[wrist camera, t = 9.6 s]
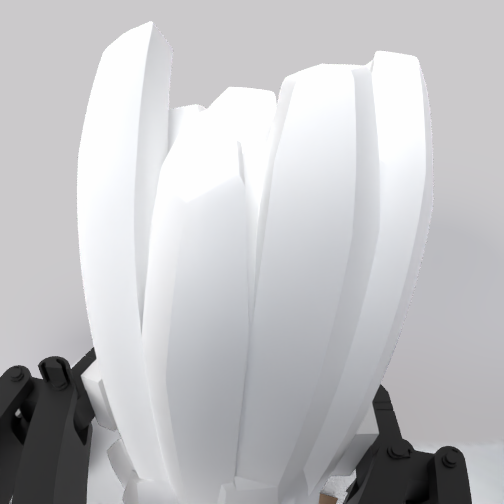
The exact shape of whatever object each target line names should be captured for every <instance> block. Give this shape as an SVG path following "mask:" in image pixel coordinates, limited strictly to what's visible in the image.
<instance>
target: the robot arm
mask: <svg viewBox="0 0 504 504" xmlns="http://www.w3.org/2000/svg"><path fill="white" fill-rule="evenodd" d="M38 367H39V370H40V373H41V375H42V377H43V379H38V378H34V377H32V376H31V373H30V371H29V370H28V368H26V367H24V366H20V365H18V366H13V367H11V368H9V369H8V370H7V371H6V372H5V373H4V374H3V375H2V376H1V377H0V504H9V502H10V500H11V498H12V495H13V498H12V504H86V500H87V479H88V466H89V455H90V445H91V437H92V424H91V421H92V419H93V418H94V417H96V419H97V422H98V424H99V425H100V426H103V427H105V428H107V429H110V430H112V431H114V432H115V430H116V429H117V425H116V423H115V420H114V417H113V414H112V411H111V408H110V404H109V401H108V398H107V395H106V391H105V388H104V384H103V380H102V377H101V373H100V369H99V365H98V361H97V357H96V353H95V349H94V347H93V348H92V349H91V351H89V352H88V353H87V354H86V356H84V357H83V358H82V359H81V360H80V361H79V362H78V363H77V364H76V365H75V366H74V367H73V368H72V369H71V368H70V365H69V363H68V361H67V360H66V359H64V358H62V357H58V356H52V357H48V358H45V359H44V360H42V361H41V362H40V363H39V365H38ZM18 409H19V411H20V414H19V415H18V416H16V414H15V413H16V412H17V410H18ZM355 469H356V477H357V478H356V479H355V480H354V482H353V483H352V484H351V485H350V486H349V488H348V489H347V490H346V492H348V494H347V496H346V498H345V500H344V502H343V504H472V500H471V493H470V486H469V479H468V473H467V468H466V463H465V458H464V456H463V454H462V452H461V451H460V450H459V449H457V448H455V447H452V446H445V447H442V448H440V449H439V450H438V451H437V452H436V453H435V454H432V453H425V452H419V451H416V450H414V448H413V446H412V445H411V444H410V443H409V442H408V441H407V440H404V439H402V436H401V433H400V429H399V426H398V423H397V419H396V416H395V413H394V411H393V406H392V404H391V400H390V397H389V394H388V392H387V391H386V390H385V388H384V387H383V386H382V385H381V384H380V386H379V388H378V390H377V392H376V394H375V397H374V399H373V401H372V403H371V405H370V407H369V409H368V411H367V413H366V415H365V417H364V419H363V421H362V423H361V425H360V427H359V428H358V430H357V432H356V434H355V436H354V438H353V439H352V441H351V443H350V445H349V446H348V448H347V450H346V451H345V453H344V455H343V457H342V458H341V460H340V461H339V463H338V465H337V466H336V468H335V469H334V471H333V473H332V474H331V476H350V475H351V474H352V473H353V471H354V470H355Z"/></svg>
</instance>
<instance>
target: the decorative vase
mask: <svg viewBox="0 0 504 504" xmlns="http://www.w3.org/2000/svg"><path fill="white" fill-rule="evenodd" d="M172 58H173V49H172V48H171V46H170V44H169V43H168V41H167V40H166V39H165V37H164V36H163V35H162V33H161V32H160V31H159V29H158V28H157V27H156V26H155V24H154V23H153V22H148V23H146V24H143V25H141V26H139V27H137V28H134V29H132V30H130V31H128V32H126V33H124V34H123V35H121V36H120V37H119V38H118V39H117V40H116V41H115V42H113V43H112V44H111V45H110V46H109V47H108V48H107V49H106V50H105V51H104V53H103V55H102V58H101V61H100V64H99V67H98V71H97V73H96V77H95V80H94V84H93V87H92V91H91V95H90V99H89V103H88V107H87V112H86V116H85V121H84V126H83V131H82V137H81V143H80V149H79V156H78V177H77V178H78V179H77V212H78V213H77V216H78V235H79V248H80V261H81V271H82V279H83V287H84V295H85V300H86V308H87V313H88V319H89V325H90V330H91V335H92V340H93V344H94V349H95V353H96V357H97V361H98V365H99V369H100V373H101V377H102V380H103V384H104V388H105V391H106V395H107V398H108V401H109V404H110V408H111V411H112V414H113V417H114V420H115V423H116V425H117V428H118V431H119V434H120V436H121V438H120V439H118V440H117V441H116V442H115V443H114V444H113V445H112V446H111V447H110V448H109V449H108V450H107V453H108V457H109V460H110V463H111V465H112V468H113V470H114V471H115V473H116V475H117V477H118V479H119V480H120V482H121V484H122V486H123V487H124V489H125V491H124V495H123V501H124V503H125V504H319V497H320V491H321V489H322V488H323V486H324V485H325V483H326V482H327V480H328V479H329V477H330V476H331V474H332V473H333V471H334V469H335V468H336V466H337V465H338V463H339V461H340V460H341V458H342V457H343V455H344V453H345V451H346V450H347V448H348V446H349V445H350V443H351V441H352V439H353V438H354V436H355V434H356V432H357V430H358V428H359V427H360V425H361V423H362V421H363V419H364V417H365V415H366V413H367V411H368V409H369V407H370V405H371V403H372V401H373V399H374V397H375V394H376V392H377V390H378V388H379V386H380V383H381V381H382V379H383V377H384V374H385V372H386V369H387V367H388V365H389V362H390V360H391V357H392V354H393V352H394V349H395V347H396V344H397V341H398V339H399V336H400V333H401V330H402V327H403V325H404V322H405V319H406V316H407V312H408V309H409V306H410V303H411V299H412V296H413V293H414V289H415V285H416V282H417V278H418V274H419V271H420V267H421V263H422V259H423V254H424V250H425V245H426V240H427V236H428V231H429V226H430V220H431V214H432V208H433V193H434V186H433V185H434V166H433V140H432V126H431V114H430V105H429V96H428V90H427V86H426V83H425V78H424V75H423V73H422V70H421V67H420V64H419V62H418V59H417V58H416V57H415V56H410V55H405V54H398V53H393V52H384V51H377V52H376V53H375V55H374V59H373V60H372V61H370V62H369V63H368V64H366V65H365V66H361V65H360V66H359V65H341V64H338V65H337V64H336V65H335V64H331V65H329V64H328V65H326V64H324V63H323V64H320V65H317V66H314V67H311V68H308V69H305V70H302V71H300V72H297V73H295V74H293V75H290V76H287V77H285V79H284V81H283V83H282V85H281V89H280V93H279V98H278V102H277V106H276V98H275V94H274V93H273V92H272V91H266V90H258V89H251V88H238V87H229V88H228V89H227V90H225V91H224V92H223V93H222V94H221V95H220V96H219V97H218V98H217V99H216V100H215V101H214V102H213V103H212V104H211V105H210V106H209V107H208V109H207V110H206V108H205V107H203V106H201V105H198V104H196V105H189V106H184V107H179V108H173V109H169V94H170V79H171V67H172Z"/></svg>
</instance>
